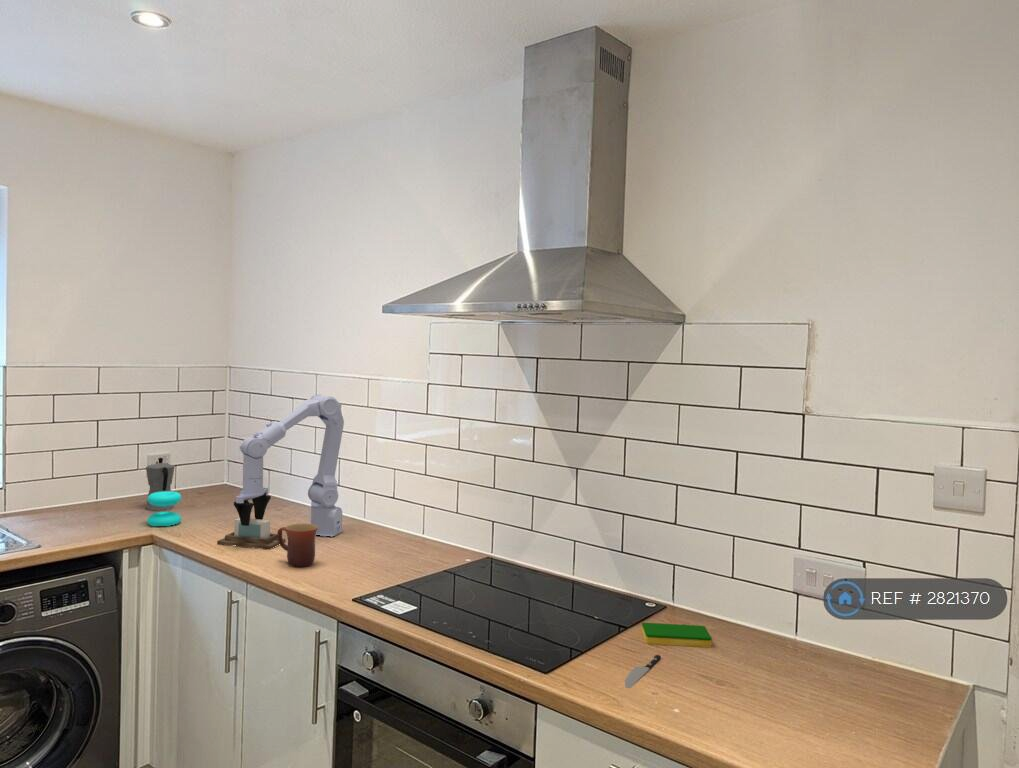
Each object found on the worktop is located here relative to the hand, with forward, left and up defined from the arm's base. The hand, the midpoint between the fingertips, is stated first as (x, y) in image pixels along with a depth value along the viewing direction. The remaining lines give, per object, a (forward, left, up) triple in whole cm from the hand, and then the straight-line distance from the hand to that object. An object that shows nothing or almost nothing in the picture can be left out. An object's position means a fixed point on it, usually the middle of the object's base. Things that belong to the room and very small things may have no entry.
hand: (252, 522), depth 223 cm
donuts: (+38, -11, -7) cm, 40 cm away
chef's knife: (-116, +57, -7) cm, 130 cm away
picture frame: (0, 0, -5) cm, 5 cm away
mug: (-22, +14, -7) cm, 27 cm away
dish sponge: (-124, +37, -7) cm, 130 cm away
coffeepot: (+53, -29, -7) cm, 61 cm away
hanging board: (0, 0, -6) cm, 6 cm away
